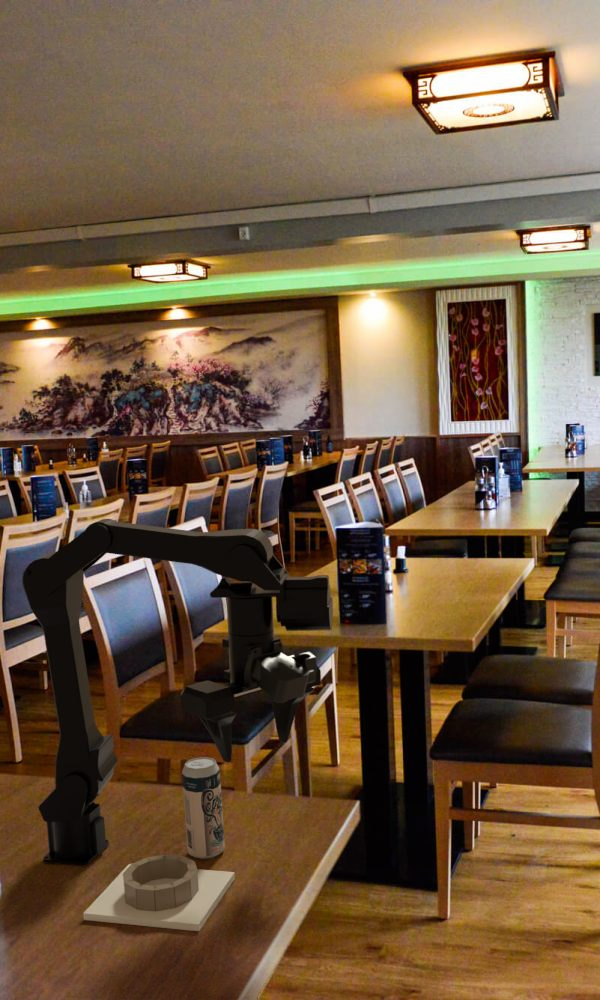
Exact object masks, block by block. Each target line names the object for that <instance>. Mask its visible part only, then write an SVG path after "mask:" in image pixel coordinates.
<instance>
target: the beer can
mask: <svg viewBox="0 0 600 1000" xmlns="http://www.w3.org/2000/svg"><path fill="white" fill-rule="evenodd" d="M220 770H221V769H220V766H219V765H218V764H217V761H216V759H214V758H212V757H195V758H192V759H189V760H187V761H186V762H185V763H184V766H183V768H182V770H181V778H182V789H183V791H182V792H183V807H184V819H185V820H184V821H185V835H186V846H187V847H186V848H187V853H188V854H189V855H190V856H192V857H194V858H195V859H199V860H208V859H214V858H215V857H217V856H218V855H219V854H220V855H221V853H222V852H223V851H224V850H225V845H226V844H225V831H224V817H223V801H222V786H221V784H222V783H221V771H220Z"/></svg>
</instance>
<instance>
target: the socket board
mask: <svg viewBox="0 0 600 1000" xmlns="http://www.w3.org/2000/svg"><path fill="white" fill-rule="evenodd" d="M235 874H236V873H235V872H234V871H222V870H209V869H200V868H199V869H198V867H197V865H196V862H195V861H194V860H192V859H190V858H189V857H186V856H184V855H177V854H159V855H154V856H153V855H152V856H148V857H145V858H143V859H141V860H138V861H136V862H134V863H128V865H127V866H126V867H124V869H123V870H122V871H121V872H120V873H119V874H118V875H117V876H116V877H115V879H113V880H112V882H111V883H110V884H109V885H108V886H107V887H106V888H105V889H104V890H103V891H102V893H101V894H99V896H98V897H97V898H96V899H95V900H94V901H93V902H92V903H91V904H90V905H89V906H88V907H87V909H86V910H85V911H84V912H83V920H84V921H92V922H102V923H112V924H122V925H131V926H132V925H133V926H139V927H141V926H143V927H151V928H152V927H153V928H163V929H172V930H182V931H183V930H184V931H193V932H194V931H195V932H200V931H201V929H202V928H203V926H204V925H205V923H206V922H207V920H208V919H209V917H210V916H211V914H212V913H213V911H214V910H215V909H216V907H218V904H219V903H220V901H221V900H222V898H223V897H224V895H225V894H226V892H227V891H228V890H229V888H230V886H232V884H233V883H234V880H235V879H236V875H235Z"/></svg>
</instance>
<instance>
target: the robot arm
mask: <svg viewBox="0 0 600 1000" xmlns="http://www.w3.org/2000/svg"><path fill="white" fill-rule="evenodd" d="M106 554H113V555H120V556H127V557H136V558H142V559H143V558H144V559H150V560H151V559H152V560H158V561H164V562H165V561H166V562H172V563H173V562H175V563H180V564H188V565H194V566H196V567H200V568H202V569H204V570H207V571H209V572H211V573H213V574H215V575H219V576H222V578H221V579H220V581H219V583H218V584H217V586H216V587H215V588H213V590H212V591H211V592H210V593H209V597H210V598H211V599H213V598H214V599H219V598H222V599H223V598H226V615H227V637H224V638H221V643H222V644H221V646H222V647H223V648H226V649H228V658H229V669H225V670H223V679H224V680H228V681H230V682H229V683H228V684H227V683H226V684H221V683H218V682H214V681H211V680H207V679H206V680H204V681H200V682H196V683H192V684H190V685H189V684H188V685H185V686H184V688H183V689H182V691H181V693H180V709H181V710H184V711H187V712H190V714H192V715H194V716H196V717H197V716H198V717H199V718H200V721H201V722H202V724H203V725H204V727H205V728H206V730H207V731H208V733H209V736H211V737H210V738H211V739H212V740H213V743H214V744H215V747H216V748H217V751H218V753H219V755H220V756H221V758H222V760H223V761H224V763H225V762H226V763H231V762H232V758H233V757H232V755H233V754H232V753H233V745H232V741H233V740H232V722H233V721H234V719H235V717H236V716H237V712H234V711H232V709H233V708H234V706H235V699H237V698H242V697H245V696H248V695H252V694H255V693H259V692H261V691H263V692H265V694H267V695H268V696H269V697H270V699H271V703H272V711H273V716H274V722H275V723H274V724H275V729H276V733H277V737H278V741H279V742H280V743H283V744H286V743H287V742H288V740H289V737H290V734H291V730H292V728H293V723H294V719H295V717H296V714H297V711H298V709H299V706H300V704H301V702H302V701H303V700H304V699H305V698H306V697H307V696H308V695H310V694H311V693H313V692H314V691H315V687H317V686H321V685H322V676H321V675H322V672H321V669H320V667H319V666H318V664H317V657H316V655H314V654H313V653H312V652H311V651H306V652H302V653H299V654H297V655H296V656H295V654H291V655H286V654H285V653H284V650H283V642H282V641H281V640H282V639H281V638H280V637H275V632H274V631H275V630H274V627H275V626H274V607H273V606H274V605H273V603H274V602H273V598H275V612H276V622H277V623H278V624H280V626H281V627H285V630H286V631H287V632H291V631H292V632H294V631H298V632H299V631H305V632H306V631H307V632H309V631H312V632H313V631H332V630H333V621H334V616H333V615H334V602H333V601H334V600H333V597H332V594H331V586H330V576H329V575H328V574H318V575H314V576H290V573H289V572H288V571H287V569H286V568H285V567H284V566H283V565H282V563H281V562H280V560H278V558H277V557H276V556H275V555H274V547H273V544H272V542H271V540H270V539H269V537H268V536H267V535H266V533H265V532H263V531H261V530H260V529H256V528H239V529H236V528H235V529H225V530H215V531H213V530H212V531H204V532H203V531H202V532H201V531H193V530H185V529H178V528H170V527H161V526H155V525H148V524H139V523H131V522H125V521H124V522H123V521H117V520H114V519H111V518H102V519H99V520H98V521H95V522H92V523H90V524H89V525H88V526H87V527H86V528H85V530H84V531H82V532H81V533H80V534H79V535H77V536H76V537H75V538H73V539H72V540H71V541H69V542H68V543H66V544H65V545H64V546H63V547H61V548H60V549H58V550H56V551H54V552H51V553H48V554H46V555H43V556H41V557H39V558H36V559H34V560H33V561H31V562H30V563H29V564H28V565H27V567H26V568H25V569H24V571H23V573H22V575H21V576H22V577H21V583H22V587H23V590H24V594H25V596H26V600H27V602H28V606H29V608H30V611H31V612H32V614H33V615H34V616H35V618H36V620H37V621H38V623H39V624H40V625H41V628H42V631H43V637H44V643H45V649H46V654H47V662H48V668H49V674H50V680H51V687H52V691H53V699H54V705H55V712H56V717H57V724H58V732H59V739H58V740H59V741H58V745H57V746H58V747H57V750H56V755H55V756H56V757H55V762H54V763H55V764H54V768H55V769H54V789H53V790H52V791H51V792H50V793H49V794H48V795H47V797H46V798H45V799H44V800H43V801H42V802H41V803H40V804H39V806H38V810H39V813H40V815H41V817H42V820H43V821H44V822H46V831H47V843H48V853H46V854H45V855H44V856H43V857H42V863H48V864H62V865H73V866H84V867H85V866H88V865H90V864H91V863H92V862H93V861H94V860H95V859H96V858H97V857H98V855H100V854H101V853H102V852H103V851H104V850H105V849H106V848H107V847H108V846H109V845H110V841H109V840H108V839H106V838H107V837H106V828H105V827H106V826H105V818H104V816H102V815H101V804H100V803H95V800H96V799H97V797H99V796H100V795H101V792H102V790H103V789H104V788H105V787H106V785H107V784H108V783H109V781H110V780H111V779H112V777H113V775H114V772H115V771H114V770H115V767H116V765H117V764H118V763H119V759H118V758H117V756H116V755H115V751H114V750H115V749H114V740H115V739H114V734H112V733H110V734H107V735H103V734H102V732H100V730H99V728H98V727H97V724H96V720H95V715H94V707H93V702H92V696H91V695H92V694H91V689H90V682H89V677H88V669H87V664H86V657H85V650H84V645H83V643H84V642H83V638H82V631H81V625H80V624H81V623H80V616H81V615H80V614H81V608H82V605H83V599H84V577H85V574H84V573H85V572H87V571H88V570H89V569H90V568H92V567H93V566H94V565H95V564H96V563H97V562H99V560H101V559H102V558H103V557H104V556H105V555H106ZM233 580H235V581H233Z"/></svg>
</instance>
